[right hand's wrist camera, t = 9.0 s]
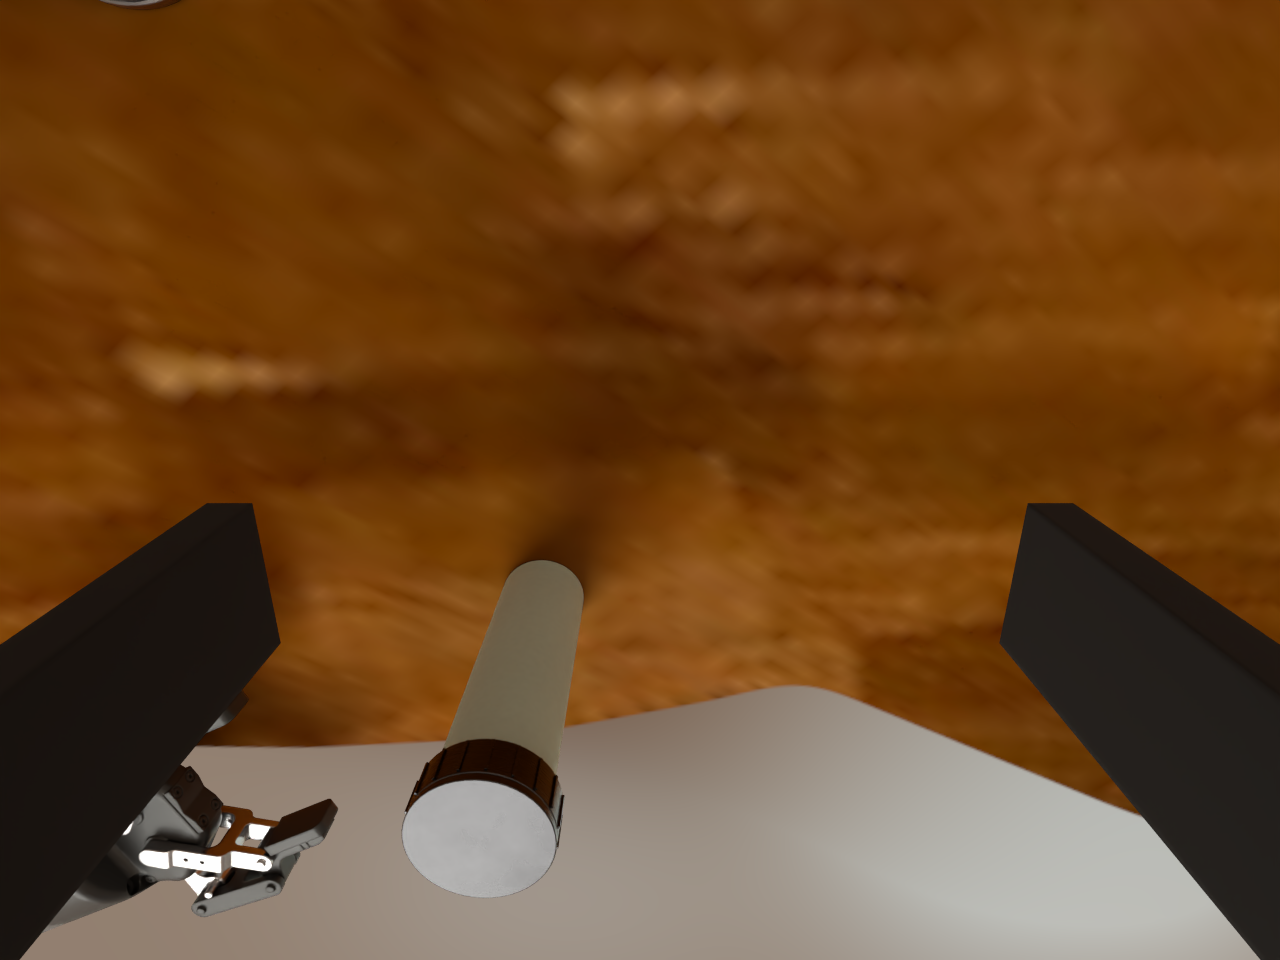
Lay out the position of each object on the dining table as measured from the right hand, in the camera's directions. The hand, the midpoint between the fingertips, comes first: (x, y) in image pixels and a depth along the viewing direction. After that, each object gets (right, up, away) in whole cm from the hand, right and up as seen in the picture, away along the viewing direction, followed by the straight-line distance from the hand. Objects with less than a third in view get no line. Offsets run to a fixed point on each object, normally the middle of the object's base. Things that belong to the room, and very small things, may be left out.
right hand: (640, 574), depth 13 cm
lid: (-6, -11, +14) cm, 19 cm away
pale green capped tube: (-6, -5, +31) cm, 32 cm away
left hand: (-20, -14, +28) cm, 36 cm away
